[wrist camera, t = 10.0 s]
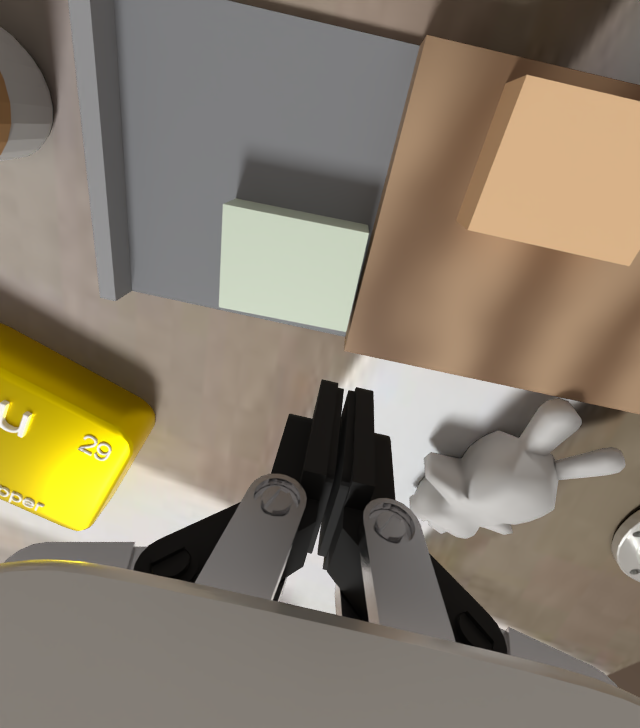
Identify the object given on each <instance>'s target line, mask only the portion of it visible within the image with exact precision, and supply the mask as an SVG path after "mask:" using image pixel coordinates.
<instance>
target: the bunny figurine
mask: <svg viewBox="0 0 640 728" xmlns="http://www.w3.org/2000/svg"><path fill="white" fill-rule="evenodd" d="M581 424H582V420H581V418H580V416H579V415H578V414H577V412H576V411H575V409H574V408H573V407H572V405H571V404H570V403H569V401H566V400H563V399H560V398H557V399H552V400H547V401H546V402H545V403H543V404H542V405H541V406H540V407H539V408H538V409H537V411H536V413H535V414H534V416H533V417H532V419H531V420H530V422H529V423H528V425H527V427H526V428H525V430H524V431H523V433H522V434H521V436H520V437H519V438H518V437H515V436H512V435H510V434H507V433H504V432H502V431H499V430H498V431H496V432H493V433H490V434H488V435H486V436H484V437H482V438H481V439H479V440H477V441H476V442H475V443H474V444H472V445H471V446H470V447H469V448H468V449H467V451H466V452H465V454H464V455H463V457H462V458H455V457H450V456H446V455H442V454H437V453H433V452H430V453H429V454H428V455H427V456H426V457H425V458H424V464H425V477H424V478H423V479H422V481H421V482H420V484H419V486H418V488H417V490H416V492H415V494H414V495H412V496H410V510H411V511H412V512H413V513H414V514H415V516H416V517H417V518H419V519H420V520H422V521H428V524H429V526H431V527H432V528H433V529H435V530H436V531H438V532H439V533H441V534H442V533H444V532H449V533H450V534H452V535H454V536H456V537H459V538H466V539H467V538H469V537H471V536H474V535H475V533H476V532H477V530H478V529H479V527H484V528H487V529H490V530H493V531H495V532H498V533H501V534H503V535H504V534H510V533H513V531H512V528H511V524H520V523H525V522H530V521H532V520H535V519H537V518H540V517H542V516H544V515H546V514H547V513H549V512H551V511H552V510H554V508H555V500H556V493H557V485H558V480H563V479H574V478H585V477H594V476H603V475H610V474H615V473H619V472H620V471H621V470H622V469H623V468H624V467H625V460H624V457H623V454H622V452H621V451H620V450H619V449H617V448H613V447H610V448H602V449H598V450H595V451H591V452H587V453H583V454H580V455H576V456H572V457H568V458H564V459H560V460H556V461H555V459H554V457H553V455H552V454H550V452H551V451H552V450H553V449H555V448H556V447H557V446H558V445H559V444H561V443H562V442H563V441H564V440H566V439H567V438H568V437H569V436H571V435H572V434H573V433H574V432H575V431H577V430H578V429H579V427H580V426H581Z"/></svg>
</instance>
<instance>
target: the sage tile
mask: <svg viewBox="0 0 640 728" xmlns="http://www.w3.org/2000/svg"><path fill="white" fill-rule="evenodd" d="M368 236H369V228H368V225H366V224H361V223H356V222H351V221H346V220H341V219H336V218H331V217H326V216H321V215H316V214H311V213H306V212H301V211H296V210H291V209H286V208H281V207H276V206H271V205H266V204H261V203H256V202H252V201H247V200H242V199H237V198H235V199H233V200H231V201H229V202H226V203H224V204H223V214H222V238H221V263H220V288H219V307H220V308H225V309H231V310H236V311H241V312H246V313H251V314H256V315H261V316H266V317H271V318H276V319H281V320H287V321H292V322H297V323H302V324H307V325H312V326H317V327H322V328H327V329H332V330H337V331H343V332H346V331H347V326H348V322H349V318H350V313H351V309H352V305H353V300H354V296H355V292H356V288H357V283H358V279H359V275H360V270H361V266H362V262H363V258H364V253H365V249H366V245H367V240H368Z"/></svg>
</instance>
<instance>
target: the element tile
mask: <svg viewBox="0 0 640 728" xmlns="http://www.w3.org/2000/svg"><path fill="white" fill-rule="evenodd" d="M154 425H155V413H154V411H153V409H152V408H151V407H150V406H149V405H148V404H147V403H146V402H145V401H144V400H143V399H141V398H140V397H138V396H136V395H134V394H132V393H131V392H129V391H127V390H125V389H123V388H121V387H120V386H118V385H116V384H114V383H112V382H110V381H109V380H107V379H105V378H103V377H101V376H99V375H97V374H96V373H94V372H92V371H90V370H88V369H86V368H85V367H83V366H81V365H79V364H77V363H75V362H73V361H72V360H70V359H68V358H66V357H64V356H62V355H61V354H59V353H57V352H55V351H53V350H51V349H49V348H48V347H46V346H44V345H42V344H40V343H38V342H37V341H35V340H33V339H31V338H29V337H27V336H25V335H24V334H22V333H20V332H18V331H16V330H14V329H13V328H11V327H8V326H6V325H4V324H1V323H0V499H1V500H4V501H6V502H8V503H11V504H13V505H15V506H17V507H20V508H22V509H24V510H26V511H29V512H31V513H33V514H36V515H38V516H40V517H42V518H45V519H47V520H49V521H51V522H54V523H56V524H58V525H61V526H63V527H66V528H69V529H72V530H76V531H80V530H85V529H87V528H89V527H90V526H91V525H93V524H94V522H95V521H96V519H97V518H98V516H99V515H100V514H101V512H102V511H103V509H104V508H105V506H106V505H107V504H108V502H109V501H110V499H111V498H112V496H113V495H114V493H115V492H116V490H117V488H118V487H119V485H120V483H121V482H122V480H123V478H124V476H125V475H126V473H127V471H128V470H129V468H130V466H131V465H132V463H133V461H134V459H135V458H136V456H137V454H138V453H139V451H140V449H141V447H142V446H143V444H144V442H145V441H146V439H147V437H148V435H149V434H150V432H151V430H152V429H153V427H154Z"/></svg>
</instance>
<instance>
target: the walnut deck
mask: <svg viewBox="0 0 640 728" xmlns="http://www.w3.org/2000/svg"><path fill="white" fill-rule="evenodd" d="M525 75H530V76H535V77H539V78H543V79H547V80H552V81H556V82H560V83H564V84H568V85H573V86H577V87H581V88H585V89H590V90H594V91H598V92H602V93H607V94H611V95H615V96H619V97H624V98H628V99H632V100H636V101H640V85H637V84H632V83H628V82H624V81H620V80H616V79H611V78H607V77H603V76H599V75H594V74H590V73H586V72H582V71H577V70H573V69H569V68H565V67H561V66H556V65H552V64H548V63H544V62H539V61H535V60H531V59H527V58H523V57H518V56H514V55H510V54H506V53H501V52H497V51H493V50H489V49H485V48H480V47H476V46H472V45H468V44H463V43H459V42H455V41H451V40H447V39H442V38H438V37H434V36H430V35H426V37H425V38H424V40H423V42H422V43H421V45H420V47H419V51H418V55H417V59H416V63H415V67H414V71H413V74H412V78H411V82H410V86H409V90H408V94H407V98H406V102H405V106H404V109H403V113H402V117H401V121H400V125H399V129H398V133H397V137H396V141H395V144H394V148H393V152H392V156H391V160H390V164H389V168H388V172H387V176H386V179H385V183H384V187H383V191H382V195H381V199H380V203H379V207H378V211H377V215H376V218H375V222H374V226H373V230H372V234H371V238H370V242H369V246H368V250H367V253H366V257H365V261H364V265H363V269H362V273H361V277H360V281H359V285H358V288H357V292H356V296H355V300H354V304H353V308H352V312H351V316H350V320H349V323H348V327H347V331H346V335H345V346H344V351H347V352H352V353H357V354H361V355H366V356H371V357H375V358H380V359H385V360H389V361H394V362H398V363H403V364H408V365H412V366H417V367H422V368H426V369H431V370H436V371H440V372H445V373H450V374H454V375H459V376H464V377H468V378H473V379H478V380H482V381H487V382H492V383H496V384H501V385H506V386H510V387H515V388H520V389H524V390H529V391H533V392H538V393H543V394H547V395H552V396H557V397H561V398H566V399H571V400H575V401H580V402H585V403H589V404H594V405H599V406H603V407H608V408H613V409H617V410H622V411H627V412H631V413H636V414H640V250H639V252H638V253H637V255H636V257H635V258H634V260H633V261H632V263H631V265H630V266H626V265H621V264H617V263H612V262H608V261H603V260H599V259H594V258H590V257H585V256H581V255H577V254H572V253H568V252H563V251H559V250H554V249H550V248H545V247H541V246H536V245H532V244H528V243H523V242H519V241H514V240H510V239H505V238H501V237H496V236H492V235H487V234H483V233H479V232H474V231H470V230H467V229H466V228H464V227H463V226H462V225H460V224H459V223H458V222H457V221H456V219H457V216H458V214H459V211H460V208H461V205H462V202H463V200H464V197H465V194H466V191H467V189H468V186H469V183H470V180H471V178H472V175H473V172H474V169H475V167H476V164H477V161H478V158H479V155H480V153H481V150H482V147H483V144H484V142H485V139H486V136H487V133H488V131H489V128H490V125H491V122H492V119H493V117H494V114H495V111H496V108H497V106H498V103H499V100H500V97H501V95H502V92H503V89H504V86H505V84H506V83H508V82H511V81H513V80H515V79H518V78H520V77H523V76H525Z"/></svg>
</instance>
